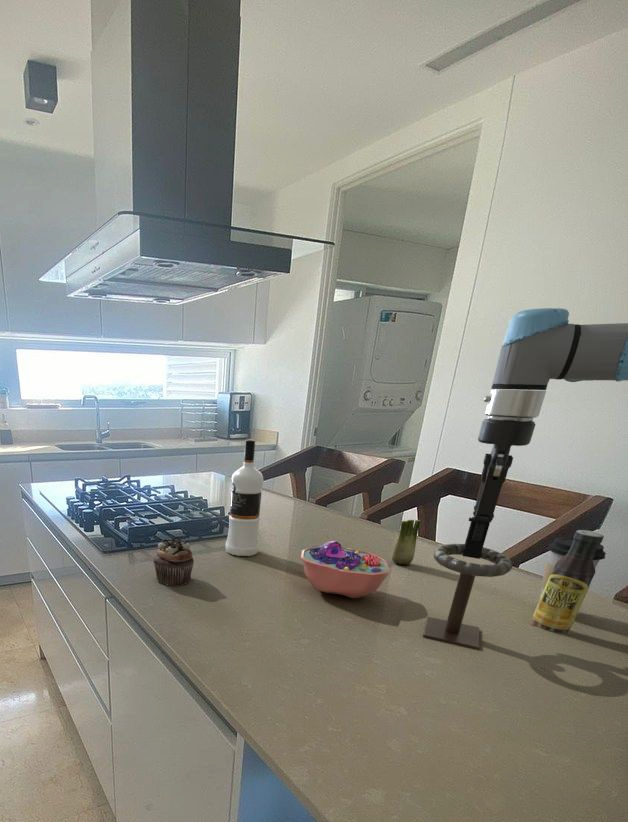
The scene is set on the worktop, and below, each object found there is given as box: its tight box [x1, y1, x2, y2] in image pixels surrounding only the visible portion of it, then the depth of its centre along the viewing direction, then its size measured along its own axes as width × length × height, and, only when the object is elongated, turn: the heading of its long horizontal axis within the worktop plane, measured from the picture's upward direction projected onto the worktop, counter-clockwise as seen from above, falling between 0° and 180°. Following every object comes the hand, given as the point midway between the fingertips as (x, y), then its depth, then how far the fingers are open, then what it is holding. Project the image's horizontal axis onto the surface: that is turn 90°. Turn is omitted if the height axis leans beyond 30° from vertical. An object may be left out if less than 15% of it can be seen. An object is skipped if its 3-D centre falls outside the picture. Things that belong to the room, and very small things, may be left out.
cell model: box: [300, 540, 392, 599], centre depth 108 cm, size 17×20×11 cm
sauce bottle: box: [530, 529, 605, 634], centre depth 91 cm, size 7×6×20 cm
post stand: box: [422, 573, 480, 651], centre depth 89 cm, size 9×9×14 cm
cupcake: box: [152, 537, 195, 586], centre depth 114 cm, size 10×10×10 cm
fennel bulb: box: [391, 519, 422, 566], centre depth 127 cm, size 6×5×12 cm
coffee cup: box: [538, 536, 607, 602], centre depth 101 cm, size 9×9×15 cm
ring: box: [433, 543, 513, 578], centre depth 85 cm, size 12×12×2 cm
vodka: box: [225, 439, 264, 557], centre depth 129 cm, size 9×9×30 cm
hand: (471, 554), depth 89 cm, fingers closed on ring, 2 cm apart
